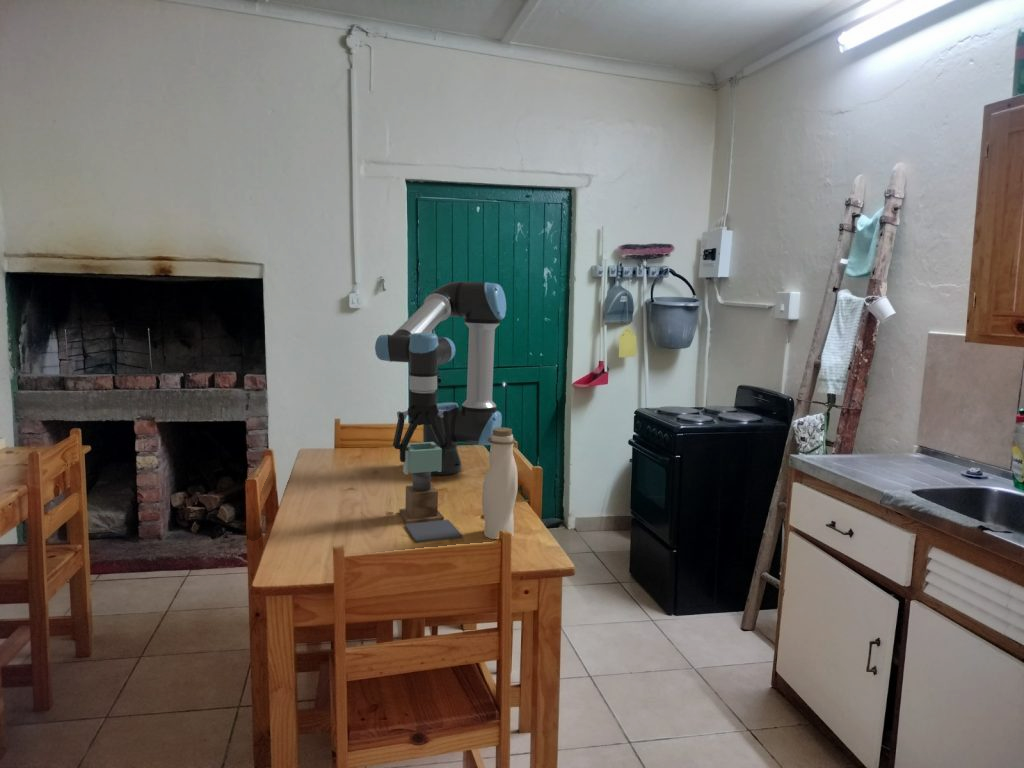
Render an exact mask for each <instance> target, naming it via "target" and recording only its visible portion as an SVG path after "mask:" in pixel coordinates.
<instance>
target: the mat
mask: <svg viewBox="0 0 1024 768" xmlns="http://www.w3.org/2000/svg"><path fill="white" fill-rule="evenodd" d="M404 527H405V529H406V530H407V532H408V533H409V535H410V536H411V537H412V539H413V540H414V542H415V543H425V542H426V543H427V542H432V541H433V542H435V541H441V540H449V539H460V538H463V535H462V534H461V533H460V531H459V530H458V529H457V528H456V527H455V526H454V524H453V523H452V522H451V521H450V520H449V519H444V520H440V521H430V522H420V523H411V524H407V523H405V524H404Z"/></svg>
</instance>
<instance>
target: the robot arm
mask: <svg viewBox="0 0 1024 768" xmlns="http://www.w3.org/2000/svg"><path fill="white" fill-rule="evenodd" d="M506 312H507V300H506V294H505V292H504V289H503V287H502V286H501V285H500V284H499V283H495V282H494V283H493V282H488V281H487V282H483V281H482V282H481V281H479V282H477V281H476V282H475V281H473V282H472V281H452V282H449V283H447V284H443V285H442V286H439V287H438V288H436V289H434V290H433V291H431V293H429V294H428V295H427V296H425V299H424V301H423V304H422V305H421V306H420V307H419V308H418V309H417V310H416V311H415V312H414V313H413V314H412V315H411V316H410V317H409V318H408V319H407V320H406V321H404V322H403V324H402V325H400V326H399V328H398V329H396V330H395V331H394V333H392V334H388V333H386V334H380V335H379V336H378V337H377V339H376V340H375V343H374V345H375V346H374V351H375V356H376V358H378V360H380V361H384V362H389V363H391V362H394V363H395V362H397V363H409V372H408V373H409V377H408V378H409V380H408V381H409V384H408V388H409V391H408V408H407V410H406V411H398V412H396V416H397V423H396V427H395V432H394V438H393V442H392V446H393V448H394V449H395V450H399V461H400V462H401V463H402V465H403V466H402V467H403V468H402V469H403V470H402V471H403V474H404V475H409V471H408V450H407V449H406V448H407V446H408V443H410V441H411V439H412V437H413V434H414V433H415V431H416V429H417V428H418V426H423V427H422V429H423V430H422V432H423V433H422V436H423V437H422V439H423V440H422V443H424V442H434V443H435V444H436V445H438V446H439V447H440V448H441V449H442V471H433V472H431V476H450V475H454V474H457V473H460V472H462V466H463V465H462V460H461V458H460V454H459V451H458V443H463V444H472V445H479V446H491V443H490V442H488V439H489V438H490V437H491V435H492V433H493V428H498V427H502V421H503V420H502V419H503V417H502V413H501V412H500V411H499V410H497V404H496V403H495V402H494V401H493V387H494V386H493V385H494V383H493V382H494V360H495V357H494V356H495V333H496V328H497V327H499V326H500V324H501V323H500V320H503V319H504V318H505V317H506ZM451 317H452V318H453V317H455V318H456V317H458V318H459V317H460V318H464V324H465V325H466V326H467V328H468V347H467V349H468V350H467V351H468V352H467V378H466V380H467V382H466V400H465V401H464V402H463V403H462V404H461V408H459V405H458V403H457V402H449V401H448V402H441V403H439V402H438V392H437V390H438V366H440V365H445V364H447V363H448V362H450V361H452V360H453V358H454V357H455V356H456V346H455V343H454V341H453V340H452V339H450V338H449V337H447V336H446V337H445V336H438V334H436V333H432V331H433V330H434V329H435V328H436V326H437V325H438V324H439V323H441V322H443V321H446V320H447V319H448V318H451ZM407 417H409V418H410V419H411V420H409V421H410V422H409V425H408V428H407V429H406V432H405V434H404V436H403V430H404V428H405V427H404V425H405V421H406V419H407ZM402 436H403V438H402ZM401 439H402V440H401Z"/></svg>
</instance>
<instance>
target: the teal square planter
mask: <svg viewBox="0 0 1024 768" xmlns="http://www.w3.org/2000/svg"><path fill="white" fill-rule="evenodd" d="M406 449H407V450H408V473H410V474H413V473H420V472H433V471H442V449H441V448H440V447H439V446H438V445H436V444H435V443H434V442H424V443H423V442H409V443H408V446H407V448H406Z"/></svg>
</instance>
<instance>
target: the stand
mask: <svg viewBox="0 0 1024 768" xmlns="http://www.w3.org/2000/svg"><path fill="white" fill-rule="evenodd" d="M438 494H439V491H438V490H437V489H436V488H435V487H434V486H433V484H432V475H431V472H420V473H412V485H405V508H399V511H398V512H399V514H400V516H401V517H402V518H403V520H404V522H406V523H405V524H411V523H420V522H430V521H440V520H445V517H444V516H443V515H442V514H441V512H440V510H438V508H439V505H438V501H439V495H438Z"/></svg>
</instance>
